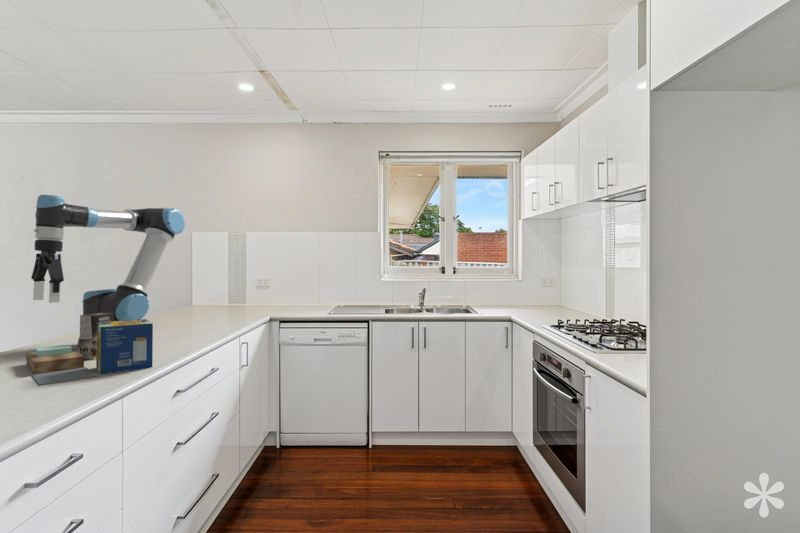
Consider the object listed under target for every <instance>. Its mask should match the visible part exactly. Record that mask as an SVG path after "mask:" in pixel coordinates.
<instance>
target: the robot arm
mask: <svg viewBox="0 0 800 533" xmlns="http://www.w3.org/2000/svg"><path fill="white" fill-rule="evenodd" d="M65 200H66V199H65V197H63V196H60V195H54V194H40V195H38V196H37V199H36V206H35V208H36V210H35V215H34V216H35V229H33V232H35V240H34V250H35V251H37V252H38V251H39V252H40V253H36V254H35V262H34V266H33V268H32V269H33V270H32V274H31V276H30V277H31V280H33V294H32V295H33V296H32V300H33V301H44V297H45V296H44V295H45V294H44V293H45V282H46V278H45V277H46V274H47V272H48V277H49V278H50V280H49V281H48V284H49V291H48V292H49V293H48V294H49V295H48V303H49V304H50V303H60V301H61V300H60V297H61V283H62V282H64V281H65V279H64V273H63V265H62V255H61V253H59V252H62V251H63V244H64V242H63V241H62V240H64V231H65V230H64V227H66V228H67V227H68V228H69V227H70V228H71V227H72V228H99V229H100V228H101V229H102V228H103V229H123V230H124V231H127V232H136V233H137V232H139V233H144V234H146V236H145V239H144V240H143V243H142V245H141V246H140V249H139V251H138V252H137V255H136V257H135V260H134V261H133V263H132V266H131V268H130V270H129V271H128V274H127V275H126V278H125V279H124V283H121V284H118V285H117V287H116V288H106V289H98V290H89V291H86V292H84V293H83V295H82V296H83V297H82V298H83V299H82V315H86V314H94V313H114V321H128V320H142V319H143V318H144V317H145V316H146V315H147V313H148V311H149V310H150V308H149V307H150V304H149V299H148V296H149V293H148V292H147V289H148V287H149V284H150V282H151V280H152V278H153V275H154V273H155V270H156V269H157V266H158V264H159V262H160V260H161V257H162V255H163V253H164V251H165V249H166V247H167V244H168V243H170V242H173V241H174V238H175V236H176V235H179V234H182V232H183V231H184V230H185V226H186V222H185V221H186V220H185V218H184V215H183V214H182V212H181V211H179V209H177V208H173V207H156V208H155V207H147V208H137V209H131V208H130V209H129V208H127V209H124V210H109V209H95V208H93V207H89V206H83V205H77V204H76V205H75V204H69V203H66V201H65ZM57 252H58V253H57ZM79 346H80V336H79V337H78V340H77V347H78V348H79Z"/></svg>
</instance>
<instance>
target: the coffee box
mask: <svg viewBox="0 0 800 533" xmlns="http://www.w3.org/2000/svg"><path fill="white" fill-rule="evenodd" d="M99 322H114V313H94V314H86V315H83V314H80V315H79V337H80V346H79V347H78V348H79V351H78V352H79V353H80V354H82V355H83V356H84V360H91V359H92V360H96V349H97V324H96V323H99ZM92 360H91V361H92Z"/></svg>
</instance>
